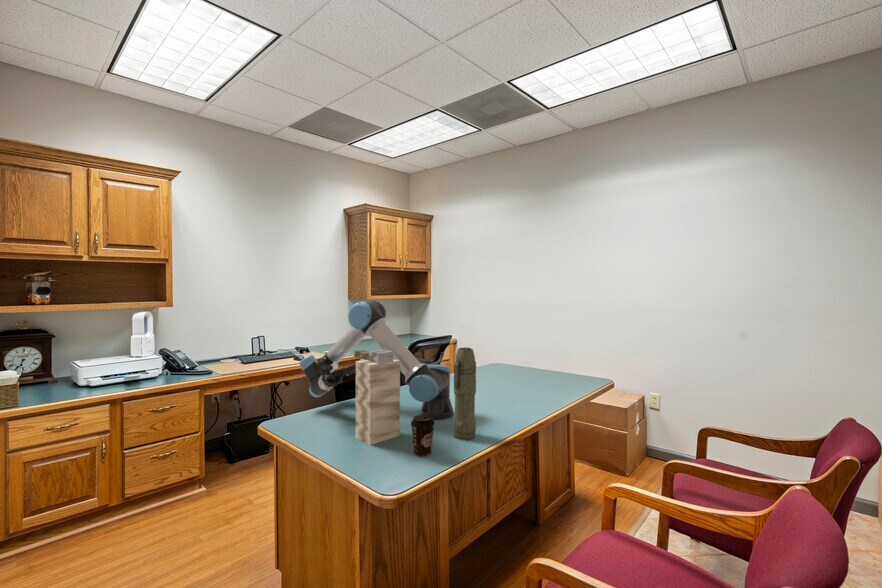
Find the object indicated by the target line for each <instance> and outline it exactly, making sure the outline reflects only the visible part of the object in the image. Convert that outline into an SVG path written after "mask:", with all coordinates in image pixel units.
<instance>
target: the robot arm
mask: <svg viewBox="0 0 882 588" xmlns="http://www.w3.org/2000/svg"><path fill="white" fill-rule="evenodd" d="M386 317H387V310H386V308H385V306H384V305H383V304H382V303H380V302H379V301H375V300H372V301H360V302H355V303H354V304H353V305H352V306H351V307H350V309H349V310H348V316H347V319H348V323H349V324H350V325H351V328H350V329H349V330H348V331H347V332H346V333H345V334H344V335H343V336H342V337H341V338H340V339H339V340H338V341H337V342H336V343H335V344H334V345H333V346H332V347H331V348H330V349H329V350H328V351H327V352H326V353H325V354H324V355H323V356H321V357H319V358H316V357H315V356H314V355H312V354H310V355H307V356H306V357H304V358H302V359H301V360H300V361H299V366H300V369H301V371H302V372H303V374H304V376H305V378H306V380H307V381H308V383H309V385H310V386H309V388H308V389H309V391H308V392H309V394H310V395H311V396H312V397H314V398H320V397H322V396H324V395H326V394H327V393H328V392H330V391H331V389H333V388H334V387H335V386H337V385H338V384H339V383H340V381H341V379H342V378H343V377H349V376H350V375H352V374H356V363H355V364H352V365H350V366H348V367H343V368H340V369H338V368H339V362H341V360H342V359H344V358H345V356H347V355H348V354H349V353H350V352H351V351H352V350H354V348H355V347H356V346H357V345H358V344H359V343H360V342H361V341H362V340H363V339H364V338H365V337H371V339H373V340H374V342H375V343H376V344H377V346H379V347H380V350H388V351H393V359H395V360H400V373H402V374H403V375H404V377H405V379H404V380H405V383H406V385H407V386H408V388H409V389H408V390H409V391H408V392H409V393H410V395H411V397H412V398H413V399H414V400H415V401H418V402H419V403H422V404H421V406H420V407H421V408H420V415H431V416H432V417H433V418H432V420H445V419H449V418H451V417H453V415H454V408H453V404H452V401H451V399H450V398H451V397H450V393H451V391H450V388H451V387H450V386H451V384H450V383H451V379H450V376H451V370H450V367H449V365H446V364H445V365H444V364H426V363H424V362H423V363H422V362H420V361H419V359H417V358H416V357H415V355H414V354H413V353H412V352H411V351H410V349H408V348H407V346H406V345H405V344H404V343H403V342H402V341H401V339H399V338H398V336H397V335H396V334H395V332H393V330H392V329H391V328H390V327H389V326H388V324H387V323H386V319H387V318H386ZM362 360H365V359H361V358H360V359H359V360H358V361H362Z"/></svg>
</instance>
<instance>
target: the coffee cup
mask: <svg viewBox="0 0 882 588" xmlns="http://www.w3.org/2000/svg"><path fill="white" fill-rule="evenodd" d="M432 418H433V417H432V416H431V415H421V414H417V415H414V416H413V418H412V420H411V422H410V425H411V431H412V432H411V433H412V440H413V441H412V444H413V451H412V454H413V455H414V456H415V457H419V458H423V457H424V458H425V457H428V456H430V455H432V446H433V437H434V429H435V428H434V425H435V423H436V422H435V419H432Z"/></svg>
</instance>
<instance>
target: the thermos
mask: <svg viewBox="0 0 882 588" xmlns="http://www.w3.org/2000/svg"><path fill="white" fill-rule="evenodd" d="M453 393H454V417H453V421H452V422H453V424H452V425H453V427H452V428H453V429H452V430H453V437H454V438H455V439H456V440H460V441H470V440H473V439H475V438H476V430H477V428H476V427H477V420H476V417H475V411H476V410H475V409H476V407H475V405H476V404H475V402H476V401H475V399H476V393H477V362H476V357H475V352H474V349H472V348H471V347H459V348H457V350H456V353H455V362H454V364H453Z"/></svg>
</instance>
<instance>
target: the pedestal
mask: <svg viewBox="0 0 882 588" xmlns="http://www.w3.org/2000/svg"><path fill="white" fill-rule="evenodd" d="M355 364H356V372H355V434H354V435H355V439H357V440H359V441H361V442H364V443H366V444H367V445H369V446H372V445H375V444H378V443H380V442H382V443H383V442H384V441H387V440H390V439H393V438H396V437H400V431H401V429H400V428H401V425H400V424H401V419H400V416H401V414H400V413H401V405H400V404H401V371H400V360H395V359H393V362H387V363H381V364H376V363H372V362H369V360H362V361H359V360H356V361H355Z"/></svg>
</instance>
